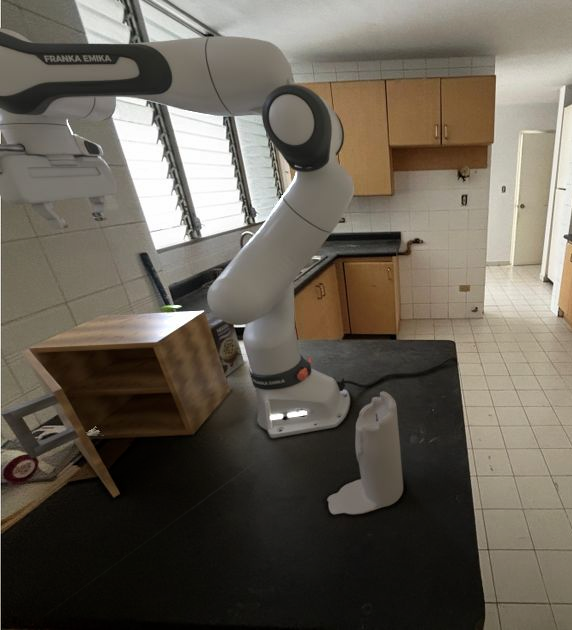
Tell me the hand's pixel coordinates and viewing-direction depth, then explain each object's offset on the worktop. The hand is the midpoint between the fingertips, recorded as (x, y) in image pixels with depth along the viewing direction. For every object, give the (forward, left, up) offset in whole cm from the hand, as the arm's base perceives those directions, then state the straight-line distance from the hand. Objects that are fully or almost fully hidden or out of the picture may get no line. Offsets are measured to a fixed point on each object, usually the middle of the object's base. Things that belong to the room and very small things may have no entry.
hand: (82, 224), depth 65 cm
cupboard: (+2, -2, -48) cm, 48 cm away
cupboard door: (+6, +17, -47) cm, 51 cm away
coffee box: (-4, -22, -48) cm, 53 cm away
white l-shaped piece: (-54, +25, -48) cm, 76 cm away
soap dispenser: (+11, -27, -48) cm, 56 cm away
